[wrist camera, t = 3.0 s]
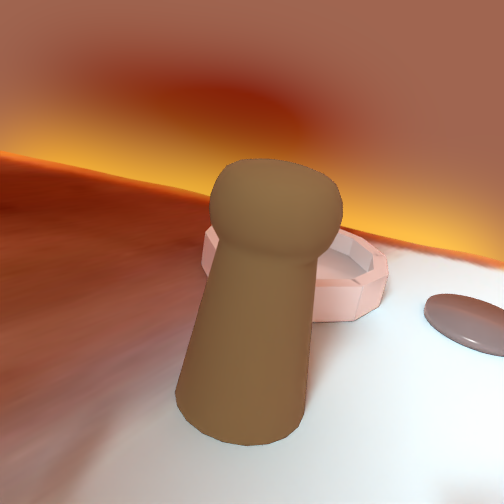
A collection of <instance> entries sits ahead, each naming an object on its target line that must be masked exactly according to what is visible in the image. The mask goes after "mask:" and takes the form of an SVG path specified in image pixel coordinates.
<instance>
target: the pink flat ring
mask: <svg viewBox="0 0 504 504" xmlns="http://www.w3.org/2000/svg"><path fill="white" fill-rule="evenodd" d="M218 242H219V238H218V236H217V234H216V232H215V231H214V229H213V227H212V226H211V227H210V228H209V229H208V230H207V231H206V232H205V239H204V246H203V254H202V261H201V265H202V267H203V269H204V271H205V273H206V275H207V277H208V276H209V273H210V269H211V266H212V262H213V259H214V255H215V252H216V248H217V245H218ZM388 275H389V273H388V266H387V259H386V256H385V255H384V254H383V253H382V252H380V251H379V250H378V249H376V248H375V247H374V246H372V245H371V244H370V243H368V242H367V241H366V240H365V239H363V238H361V237H359V236H357V235H354V234H352V233H349V232H347V231H344V230H342V229H339V232H338V234H337V235H336V237H335V239H334V241H333V243H332V244H331V246H330V247H329V248H328V250H327V251H326V252H324V253H323V254H322V255H321V256H320V257H318V262H317V273H316V284H315V295H314V306H313V317H312V322H337V321H354V320H356V319H358V318H360V317H361V316H363V315H365V314H367V313H368V312H370V311H372V310H374V309H375V308H377V307H379V305H380V301H381V298H382V295H383V291H384V288H385V285H386V281H387V278H388Z"/></svg>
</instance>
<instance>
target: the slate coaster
mask: <svg viewBox="0 0 504 504" xmlns="http://www.w3.org/2000/svg"><path fill="white" fill-rule="evenodd" d="M424 315H425V318H426V319H427V321H428V322H429V323H430V324H431V325H432V326H433V327H434V328H435V329H436V330H438V331H439V332H440V333H442V334H443V335H445V336H446V337H448V338H450V339H451V340H453V341H455V342H457V343H459V344H462V345H464V346H466V347H469V348H471V349H474V350H477V351H480V352H483V353H487V354H492V355H496V356H504V310H503V309H501V308H499V307H497V306H495V305H492V304H490V303H487V302H484V301H481V300H478V299H475V298H471V297H467V296H462V295H455V294H438V295H434V296H431V297H430V298H429V299H428V300H427V302H426V305H425V307H424Z"/></svg>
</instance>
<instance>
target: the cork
mask: <svg viewBox="0 0 504 504" xmlns="http://www.w3.org/2000/svg"><path fill="white" fill-rule="evenodd" d="M209 212H210V220H211V224H212V227H213V229H214V231H215V232H216V234H217V236H218V238H219V242H218V245H217V248H216V252H215V255H214V259H213V262H212V266H211V269H210V273H209V276H208V280H207V283H206V287H205V290H204V293H203V297H202V300H201V304H200V307H199V311H198V314H197V318H196V321H195V325H194V328H193V331H192V335H191V338H190V342H189V345H188V349H187V352H186V356H185V359H184V363H183V366H182V370H181V373H180V376H179V380H178V383H177V387H176V390H175V395H176V401H177V407H178V408H179V410H180V411H181V413H182V414H183V416H184V417H185V419H186V420H187V421H188V422H189V423H190V424H192V425H193V426H194V427H195V428H197V429H198V430H199V431H200V432H202V433H203V434H206V435H208V436H210V437H213V438H215V439H217V440H220V441H222V442H226V443H232V444H238V445H244V446H250V445H263V444H269V443H272V442H275V441H278V440H280V439H283V438H286V437H287V436H288V435H289V434H290V433H292V432H293V431H294V430H295V429H296V428H297V427H298V426H299V424H300V421H301V419H302V417H303V415H304V406H305V395H306V384H307V373H308V361H309V350H310V339H311V328H312V317H313V306H314V295H315V284H316V273H317V262H318V257H320V256H321V255H322V254H323V253H324V252H326V251H327V250H328V248H329V247H330V246H331V244H332V243H333V241H334V239H335V237H336V235H337V234H338V232H339V229H340V224H341V221H342V217H343V202H342V199H341V196H340V193H339V190H338V187H337V185H336V184H335V183H334V182H333V181H332V180H331V179H330V178H329V177H327V176H326V175H324V174H322V173H320V172H318V171H316V170H313V169H311V168H308V167H306V166H303V165H299V164H296V163H292V162H288V161H282V160H275V159H244V160H239V161H236V162H234V163H232V164H229V165H227V166H226V167H225V169H224V170H223V171H222V172H221V173H220V175H219V176H218V178H217V180H216V182H215V184H214V187H213V189H212V192H211V196H210V204H209Z"/></svg>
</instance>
